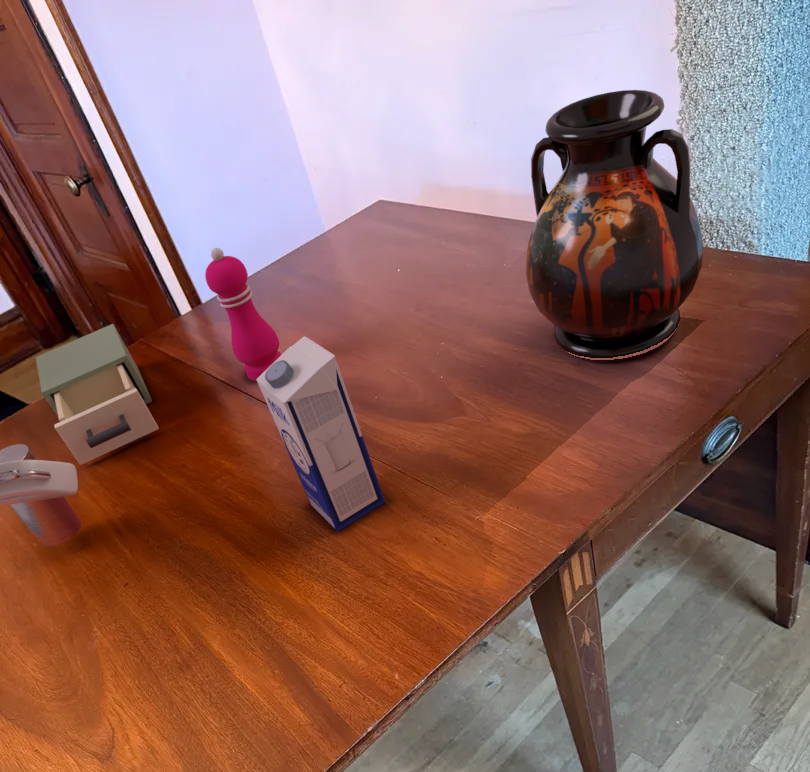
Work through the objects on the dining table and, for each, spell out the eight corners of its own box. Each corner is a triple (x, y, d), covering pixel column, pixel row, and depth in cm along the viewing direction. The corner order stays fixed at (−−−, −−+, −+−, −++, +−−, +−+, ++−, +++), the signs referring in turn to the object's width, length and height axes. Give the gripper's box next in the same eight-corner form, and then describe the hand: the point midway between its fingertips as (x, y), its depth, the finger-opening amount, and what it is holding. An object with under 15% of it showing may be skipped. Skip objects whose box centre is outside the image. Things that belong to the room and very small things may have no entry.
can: (41, 553, 93) (-18, 480, 85) (38, 529, 97) (-19, 458, 89) (83, 533, 94) (29, 459, 86) (79, 510, 98) (26, 437, 90)
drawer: (164, 441, 108) (142, 402, 104) (83, 479, 106) (57, 441, 102) (143, 392, 121) (123, 356, 117) (71, 425, 119) (47, 389, 115)
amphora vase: (509, 368, 102) (472, 152, 83) (574, 289, 113) (554, 83, 94) (667, 387, 90) (666, 141, 71) (722, 297, 101) (734, 64, 83)
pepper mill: (265, 355, 122) (215, 235, 109) (297, 360, 118) (249, 237, 105) (236, 379, 119) (180, 259, 105) (267, 386, 115) (213, 262, 101)
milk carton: (386, 502, 87) (334, 354, 74) (338, 532, 86) (276, 385, 72) (356, 477, 92) (303, 333, 79) (310, 505, 91) (248, 362, 77)
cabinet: (152, 401, 120) (126, 355, 114) (72, 438, 118) (41, 392, 112) (137, 367, 131) (113, 323, 125) (63, 400, 129) (35, 357, 123)
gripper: (23, 440, 76) (107, 456, 90) (-137, 467, 81) (-35, 478, 95) (29, 501, 76) (112, 508, 90) (-132, 524, 81) (-30, 527, 94)
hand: (35, 492), depth 92 cm, fingers closed on can, 5 cm apart
